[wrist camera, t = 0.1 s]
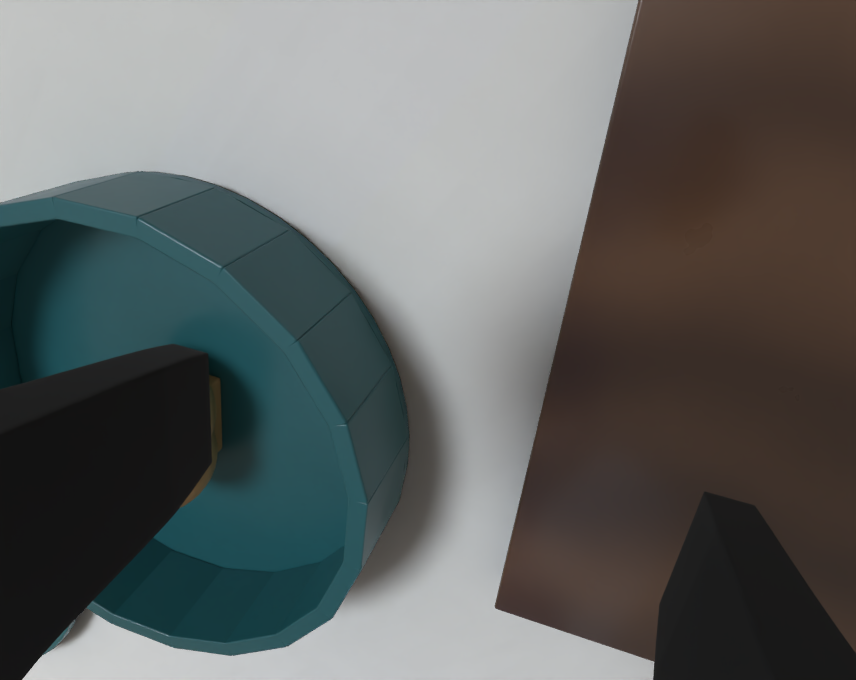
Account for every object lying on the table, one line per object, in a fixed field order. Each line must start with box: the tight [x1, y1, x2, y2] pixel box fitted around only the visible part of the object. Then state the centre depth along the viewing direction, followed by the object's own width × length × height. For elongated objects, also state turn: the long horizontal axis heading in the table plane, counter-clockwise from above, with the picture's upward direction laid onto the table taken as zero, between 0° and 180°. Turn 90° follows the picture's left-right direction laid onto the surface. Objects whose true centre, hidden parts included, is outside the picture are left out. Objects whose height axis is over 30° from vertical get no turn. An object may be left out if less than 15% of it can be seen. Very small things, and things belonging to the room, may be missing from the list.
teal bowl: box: [0, 171, 409, 656], centre depth 23 cm, size 16×16×4 cm
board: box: [495, 0, 856, 662], centre depth 17 cm, size 20×14×1 cm
